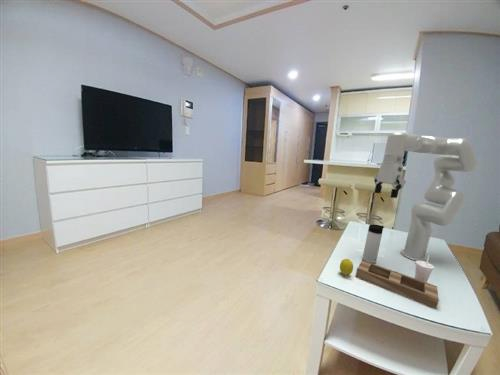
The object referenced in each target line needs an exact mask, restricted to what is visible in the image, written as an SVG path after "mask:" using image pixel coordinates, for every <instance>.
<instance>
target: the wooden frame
mask: <svg viewBox="0 0 500 375" xmlns="http://www.w3.org/2000/svg"><path fill="white" fill-rule="evenodd" d="M355 278H357V279H360V280H363V281H365V282H368V283H369V284H373V285H375V286H376V287H380V288H382V289H385V290H388V291H390V292H391V293H392V292H393V293H395V294H397V295H398V296H399V295H400V296H402V297H405V298H406V299H407V298H408V299H409V300H412V301H414V302H417V303H420V304H422V305H424V306H428V307H430V308H432V309H435V310H437V307H438V304H439V301H440V300H439V290H438V285H435V284H432V283H428V282H427V283H426V282H424V281H421V280H418V279H415V277H413V276H412V277H411V276H409V275H406V274H404V273H400V272H397V271H395V270H392V269H389V268H386V267H383V266H382V265H381V266H380V265H379V264H373V263H370V262H367V261H364V260H362V259H361V261H360V263H359V265H358V266H357V268H356V272H355Z"/></svg>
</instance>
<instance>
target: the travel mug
mask: <svg viewBox="0 0 500 375" xmlns="http://www.w3.org/2000/svg"><path fill="white" fill-rule="evenodd" d="M384 228H385V226H384V225H380V224H373V223H371V224H369V225H368V228H367V234H366V239H365V244H364V249H363V255H362V259H361V261H362V260H364V261H367V262H370V263H373V264H375V265H377V264H376V263H377V259H378V255H379V250H380V246H381V241H382V236H383V232H384V231H383V230H384Z"/></svg>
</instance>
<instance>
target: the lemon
mask: <svg viewBox="0 0 500 375" xmlns="http://www.w3.org/2000/svg"><path fill="white" fill-rule="evenodd" d="M339 270H340V271H341V273H342V274H343V275H344V276H347V275H348V276H349V275H350V274H352V273H353V270H354V263H353V261H352V260H350V259H349V258H343V259H342V260H341V261H340V264H339Z"/></svg>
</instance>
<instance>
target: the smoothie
mask: <svg viewBox="0 0 500 375" xmlns="http://www.w3.org/2000/svg"><path fill="white" fill-rule="evenodd" d="M426 257H427V261H426V262H424V261H415V273H414V278H415V279H418V280H421V281H424V282H426V283H428V280H429V278H430V276H431V275H432V271H434V269H435V266H434V265H433V264H431V263H429V260H430V255H429V254H427V256H426Z"/></svg>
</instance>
